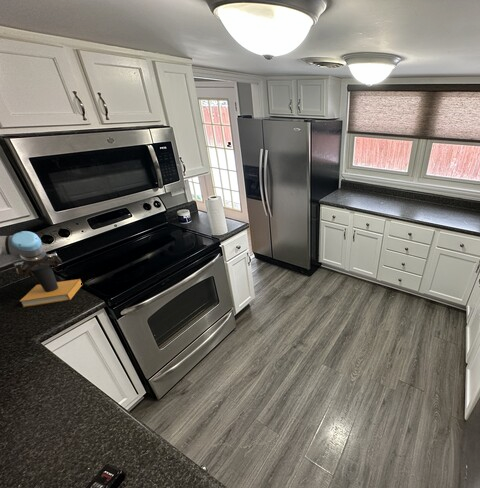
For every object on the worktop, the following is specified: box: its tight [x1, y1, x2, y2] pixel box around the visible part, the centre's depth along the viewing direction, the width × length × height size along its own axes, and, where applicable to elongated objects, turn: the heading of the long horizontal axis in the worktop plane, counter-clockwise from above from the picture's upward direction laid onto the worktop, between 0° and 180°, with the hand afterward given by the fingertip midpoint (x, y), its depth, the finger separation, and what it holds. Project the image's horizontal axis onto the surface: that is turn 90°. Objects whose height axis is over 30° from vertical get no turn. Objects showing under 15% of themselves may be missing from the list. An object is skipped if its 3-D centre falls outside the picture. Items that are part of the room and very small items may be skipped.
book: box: [19, 278, 83, 308], centre depth 133 cm, size 18×14×4 cm
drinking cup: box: [30, 263, 58, 292], centre depth 128 cm, size 8×8×20 cm
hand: (43, 272), depth 130 cm, fingers closed on drinking cup, 8 cm apart
